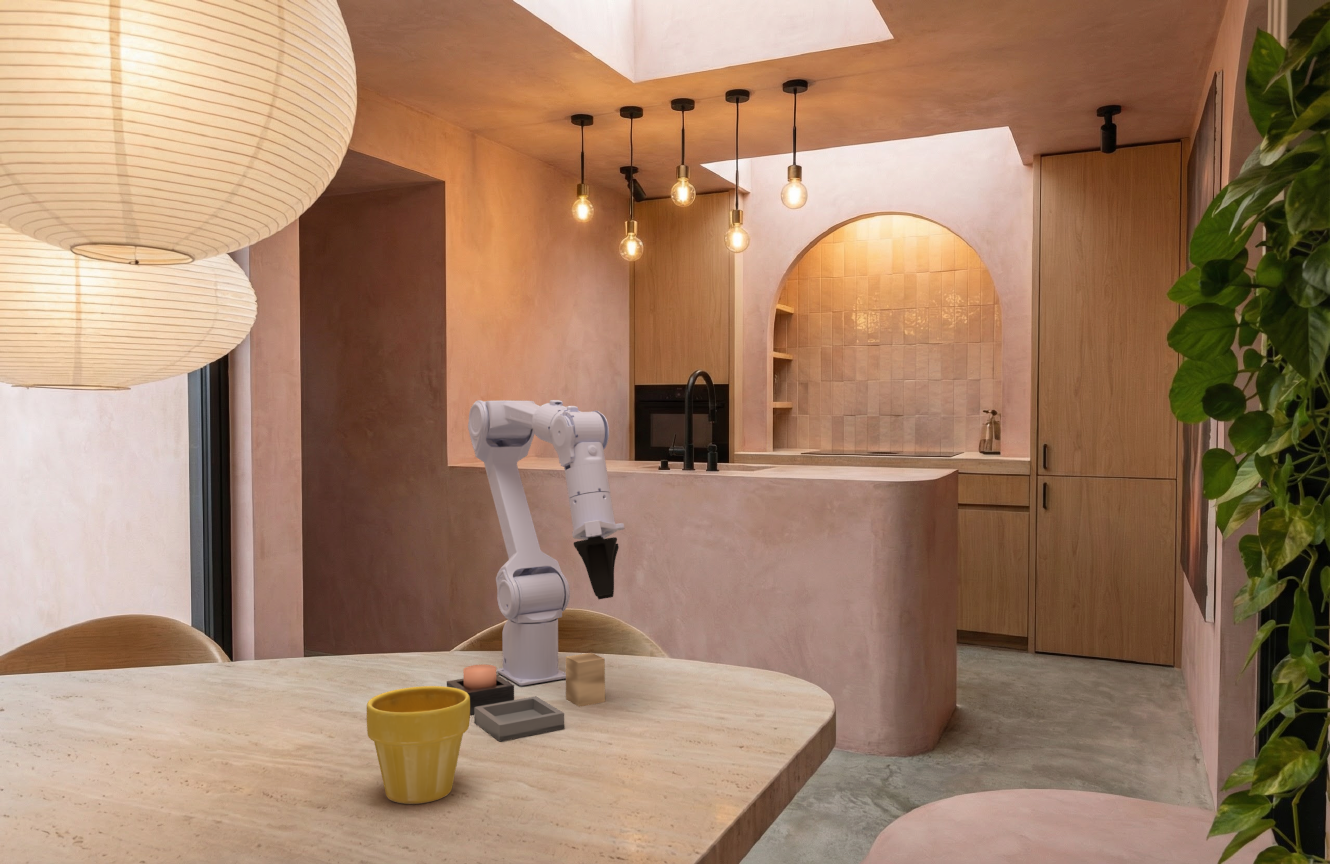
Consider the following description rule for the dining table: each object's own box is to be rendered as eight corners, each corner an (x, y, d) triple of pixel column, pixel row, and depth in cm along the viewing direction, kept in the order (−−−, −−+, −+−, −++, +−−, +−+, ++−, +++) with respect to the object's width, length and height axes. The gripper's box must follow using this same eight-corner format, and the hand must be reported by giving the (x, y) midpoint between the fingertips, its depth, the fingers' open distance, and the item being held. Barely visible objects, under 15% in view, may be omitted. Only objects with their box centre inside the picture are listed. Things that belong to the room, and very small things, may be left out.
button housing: (446, 702, 126) (446, 681, 126) (494, 694, 130) (494, 673, 130) (464, 716, 120) (464, 693, 120) (514, 707, 124) (514, 685, 124)
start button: (459, 689, 126) (458, 667, 126) (489, 684, 128) (489, 662, 128) (470, 696, 122) (470, 674, 122) (501, 691, 125) (501, 669, 125)
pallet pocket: (474, 722, 118) (474, 706, 118) (536, 711, 122) (536, 696, 122) (499, 741, 111) (499, 725, 111) (564, 728, 115) (564, 712, 115)
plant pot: (430, 765, 103) (429, 678, 103) (491, 788, 96) (490, 695, 96) (347, 794, 95) (346, 700, 95) (406, 821, 88) (406, 720, 88)
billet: (566, 699, 128) (565, 656, 128) (591, 694, 130) (591, 652, 130) (578, 706, 124) (578, 662, 124) (605, 701, 126) (604, 658, 126)
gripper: (617, 482, 118) (634, 587, 115) (619, 500, 132) (634, 594, 129) (563, 491, 118) (578, 597, 115) (571, 508, 132) (585, 603, 129)
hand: (604, 596), depth 122 cm, fingers open, 7 cm apart
